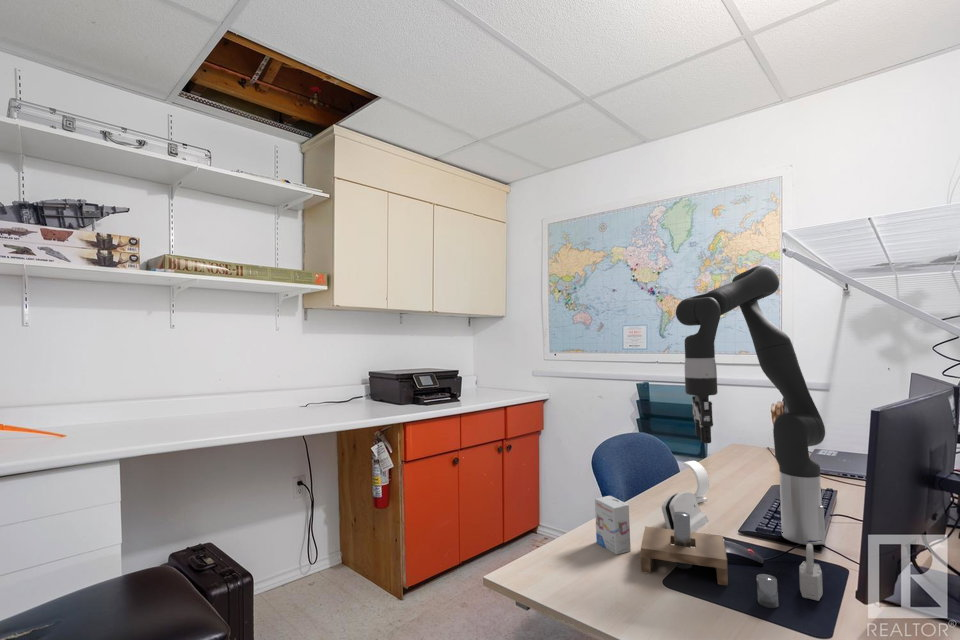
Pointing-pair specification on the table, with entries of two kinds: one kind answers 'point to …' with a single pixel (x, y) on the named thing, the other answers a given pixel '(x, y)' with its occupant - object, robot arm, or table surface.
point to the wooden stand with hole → (684, 551)
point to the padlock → (810, 576)
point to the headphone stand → (699, 480)
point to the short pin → (767, 590)
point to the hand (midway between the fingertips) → (703, 439)
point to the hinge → (683, 510)
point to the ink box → (612, 524)
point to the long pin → (682, 534)
